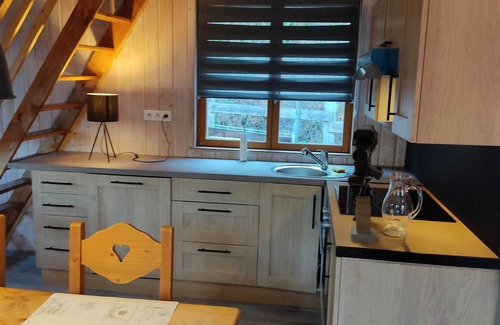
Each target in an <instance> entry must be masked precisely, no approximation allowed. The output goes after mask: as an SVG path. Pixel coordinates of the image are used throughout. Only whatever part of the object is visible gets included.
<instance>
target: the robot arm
mask: <svg viewBox="0 0 500 325" xmlns="http://www.w3.org/2000/svg"><path fill="white" fill-rule="evenodd" d="M378 145H379V132H378V131H377V130H376V129H375V125H374V124H363V125H362V126H361V128H360V127H356V128H355V130H354V131H353V137H352V144H351V146H352V147H355V149H354V151H353V152H352V156H351V157H352V160H353V164H352V165H353V166H354V170H353V172H352V174H351V175H349V177H348V178H347V184H348V185H349V187H350V189H351V192H352V194H351V195H352V199H351V205H352V207H356V196H365V197H370V199H371V209H372V208H374V207H375V197H374V194H373V192H372V188H371V186H370V181H372V180H373V178H374V180H376V181H380V180H382V178H383V175H384V173H385V171H384V169H383V166H380V165H378V166H377V167H376V166H372V156H373V154H374V153H375V151H376V149H377V146H378ZM354 210H355V211H354V217H353V218H352V220H353V221H356V208H354Z"/></svg>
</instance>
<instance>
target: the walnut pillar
mask: <svg viewBox="0 0 500 325" xmlns="http://www.w3.org/2000/svg"><path fill="white" fill-rule="evenodd" d="M355 209H356V220H355V227H356V232H357V233H370V228H371V216H372V214H371V212H372V208H371V199H370V197H365V196H356V206H355Z"/></svg>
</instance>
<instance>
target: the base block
mask: <svg viewBox="0 0 500 325" xmlns="http://www.w3.org/2000/svg"><path fill="white" fill-rule="evenodd" d="M376 238H377V234H376V229H375V228H371V227H370V233H357V232H356V226H351V227H350V241H351V242H353V241H354V242H364V243H365V242H366V243H376V241H377V239H376Z"/></svg>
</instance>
